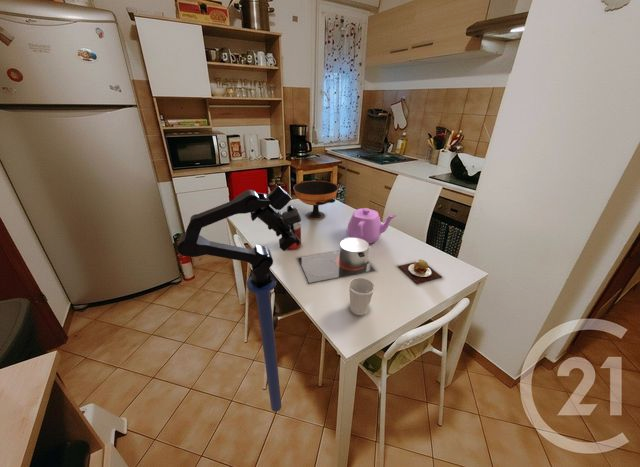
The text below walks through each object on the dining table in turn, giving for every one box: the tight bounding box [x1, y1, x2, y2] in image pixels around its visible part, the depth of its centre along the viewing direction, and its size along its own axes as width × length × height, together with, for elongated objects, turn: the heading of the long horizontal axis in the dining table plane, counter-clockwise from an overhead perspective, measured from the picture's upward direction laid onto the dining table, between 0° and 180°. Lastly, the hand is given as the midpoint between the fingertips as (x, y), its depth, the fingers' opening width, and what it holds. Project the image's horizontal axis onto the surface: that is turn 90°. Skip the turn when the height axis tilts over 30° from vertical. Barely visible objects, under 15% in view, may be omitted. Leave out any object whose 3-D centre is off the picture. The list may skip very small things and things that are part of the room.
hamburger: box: [397, 259, 443, 285], centre depth 105 cm, size 12×12×6 cm
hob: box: [297, 250, 376, 284], centre depth 111 cm, size 28×18×1 cm, turn 108°
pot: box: [339, 236, 370, 269], centre depth 111 cm, size 12×15×8 cm
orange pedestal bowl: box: [292, 180, 339, 220], centre depth 151 cm, size 36×26×18 cm
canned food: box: [287, 222, 302, 251], centre depth 122 cm, size 8×8×11 cm
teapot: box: [346, 207, 397, 244], centre depth 127 cm, size 23×21×15 cm
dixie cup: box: [347, 277, 376, 316], centre depth 85 cm, size 8×8×10 cm
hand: (299, 242), depth 101 cm, fingers closed
